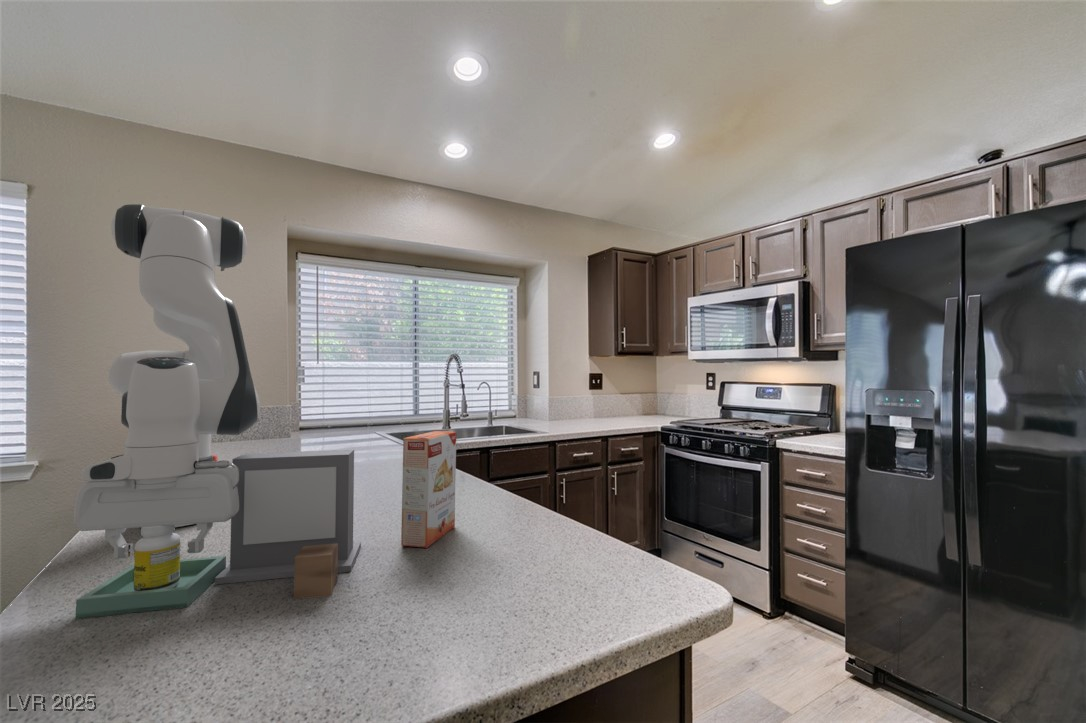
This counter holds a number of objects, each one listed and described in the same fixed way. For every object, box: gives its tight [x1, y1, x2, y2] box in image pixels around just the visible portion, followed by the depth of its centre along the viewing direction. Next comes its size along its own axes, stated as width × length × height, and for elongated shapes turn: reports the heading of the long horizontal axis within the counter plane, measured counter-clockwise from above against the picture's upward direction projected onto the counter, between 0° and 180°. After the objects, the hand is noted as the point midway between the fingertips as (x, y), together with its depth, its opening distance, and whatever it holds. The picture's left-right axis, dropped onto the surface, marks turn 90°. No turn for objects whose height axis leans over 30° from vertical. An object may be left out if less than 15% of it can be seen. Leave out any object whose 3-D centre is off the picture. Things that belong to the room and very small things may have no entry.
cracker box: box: [400, 430, 457, 549], centre depth 96 cm, size 14×6×21 cm, turn 168°
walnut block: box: [293, 543, 338, 600], centre depth 71 cm, size 5×5×6 cm
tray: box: [75, 555, 227, 620], centre depth 71 cm, size 13×13×2 cm
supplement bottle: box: [133, 525, 181, 592], centre depth 71 cm, size 5×5×10 cm
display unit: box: [214, 449, 362, 585], centre depth 82 cm, size 12×20×19 cm, turn 104°
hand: (160, 554), depth 71 cm, fingers open, 8 cm apart
